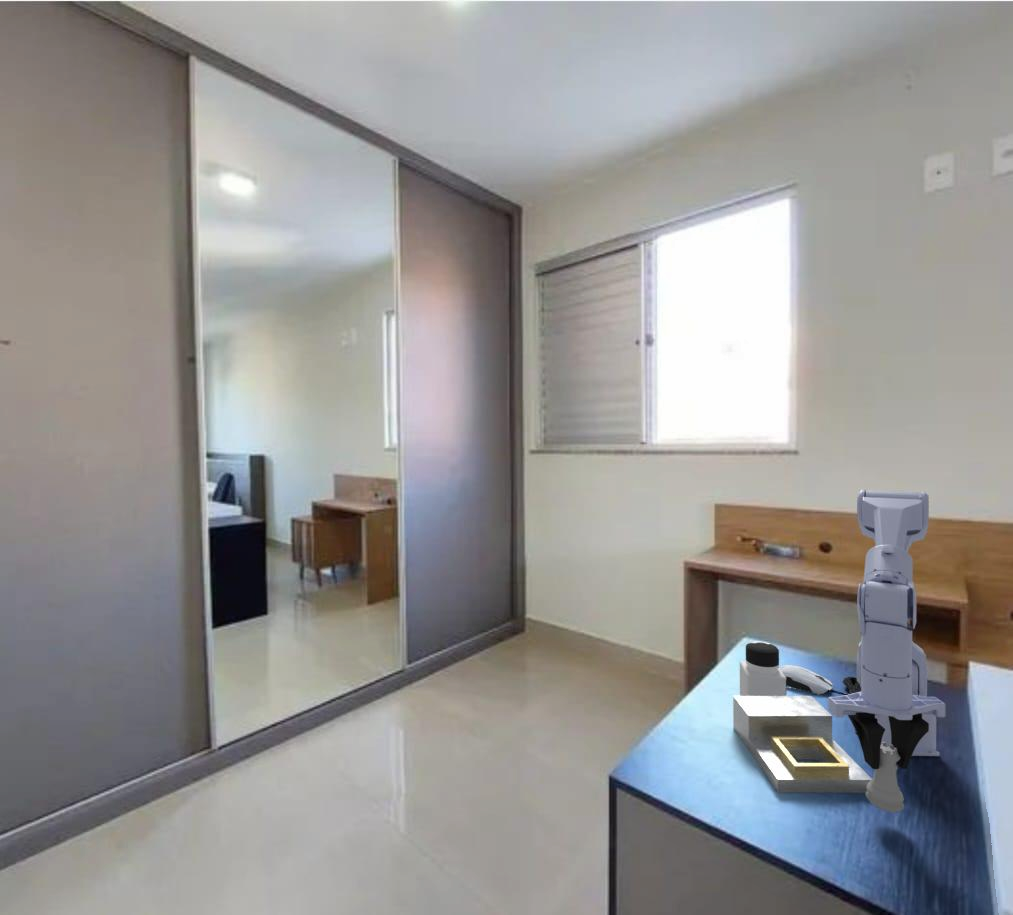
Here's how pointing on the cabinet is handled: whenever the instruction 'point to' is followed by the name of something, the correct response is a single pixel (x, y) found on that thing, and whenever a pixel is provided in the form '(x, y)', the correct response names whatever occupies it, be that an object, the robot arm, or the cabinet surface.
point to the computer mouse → (814, 680)
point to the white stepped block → (796, 744)
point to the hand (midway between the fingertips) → (885, 764)
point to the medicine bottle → (761, 671)
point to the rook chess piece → (886, 782)
